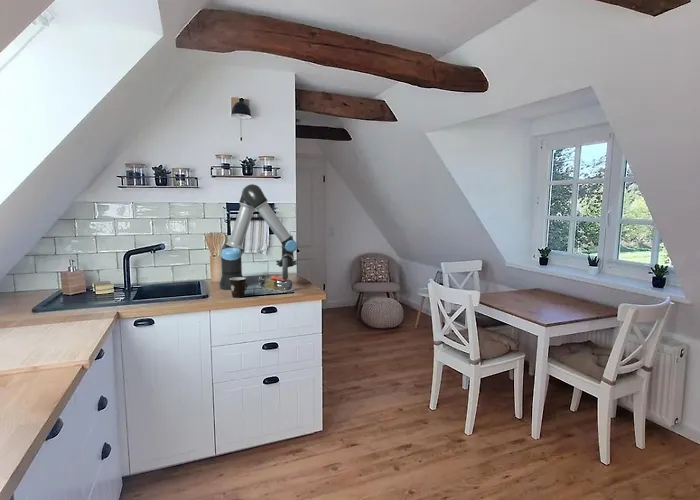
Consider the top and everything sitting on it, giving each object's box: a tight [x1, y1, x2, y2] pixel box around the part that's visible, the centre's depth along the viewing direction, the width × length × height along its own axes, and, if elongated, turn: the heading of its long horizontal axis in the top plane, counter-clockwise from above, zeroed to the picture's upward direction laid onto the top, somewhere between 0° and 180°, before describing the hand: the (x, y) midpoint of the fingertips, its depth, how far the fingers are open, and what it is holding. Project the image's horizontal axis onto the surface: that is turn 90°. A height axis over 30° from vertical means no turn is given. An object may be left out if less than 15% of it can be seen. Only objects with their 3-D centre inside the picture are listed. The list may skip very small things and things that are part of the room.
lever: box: [270, 257, 289, 281], centre depth 239 cm, size 14×4×13 cm, turn 46°
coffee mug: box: [230, 276, 248, 299], centre depth 222 cm, size 12×9×10 cm
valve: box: [254, 275, 296, 294], centre depth 244 cm, size 24×10×7 cm, turn 52°
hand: (285, 266), depth 238 cm, fingers closed
